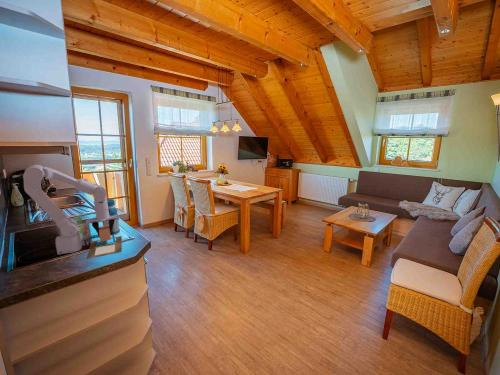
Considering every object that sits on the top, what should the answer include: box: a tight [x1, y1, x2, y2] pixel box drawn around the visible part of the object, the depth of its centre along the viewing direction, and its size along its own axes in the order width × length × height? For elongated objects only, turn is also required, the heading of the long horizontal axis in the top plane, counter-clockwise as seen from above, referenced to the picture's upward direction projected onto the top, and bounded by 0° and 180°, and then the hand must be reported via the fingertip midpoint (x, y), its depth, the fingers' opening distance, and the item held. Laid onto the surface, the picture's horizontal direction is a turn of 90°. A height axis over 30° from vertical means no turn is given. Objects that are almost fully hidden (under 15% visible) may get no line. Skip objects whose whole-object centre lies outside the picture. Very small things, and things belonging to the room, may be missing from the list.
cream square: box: [94, 244, 115, 256], centre depth 115 cm, size 8×9×1 cm
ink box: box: [71, 214, 92, 242], centre depth 129 cm, size 7×4×13 cm, turn 168°
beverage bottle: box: [101, 198, 121, 236], centre depth 137 cm, size 8×8×20 cm
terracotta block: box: [99, 225, 112, 242], centre depth 124 cm, size 4×6×6 cm
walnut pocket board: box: [86, 235, 123, 260], centre depth 120 cm, size 14×22×1 cm, turn 28°
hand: (105, 234), depth 124 cm, fingers closed on terracotta block, 4 cm apart
